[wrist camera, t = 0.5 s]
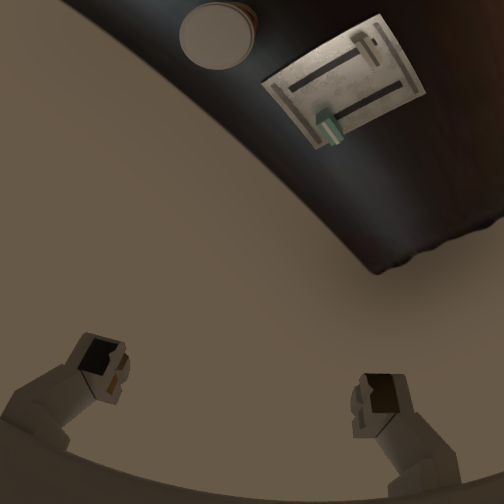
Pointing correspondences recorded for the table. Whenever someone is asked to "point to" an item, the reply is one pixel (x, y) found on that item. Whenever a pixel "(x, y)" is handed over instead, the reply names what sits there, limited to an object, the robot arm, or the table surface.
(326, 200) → the table surface
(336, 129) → the fader
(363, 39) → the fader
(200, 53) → the coffee cup
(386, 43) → the console
